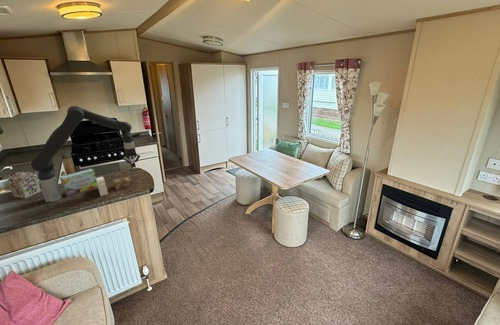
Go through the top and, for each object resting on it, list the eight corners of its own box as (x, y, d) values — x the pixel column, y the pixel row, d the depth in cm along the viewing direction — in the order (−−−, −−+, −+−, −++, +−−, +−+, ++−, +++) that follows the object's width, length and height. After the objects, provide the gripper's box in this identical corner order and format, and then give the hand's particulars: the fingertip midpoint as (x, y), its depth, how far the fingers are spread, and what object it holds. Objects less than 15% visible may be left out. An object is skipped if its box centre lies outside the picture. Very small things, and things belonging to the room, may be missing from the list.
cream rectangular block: (100, 196, 177) (97, 185, 173) (98, 188, 189) (96, 178, 185) (108, 194, 179) (105, 183, 176) (105, 186, 191) (103, 176, 188)
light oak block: (116, 190, 186) (114, 183, 184) (114, 186, 193) (113, 180, 191) (132, 186, 193) (131, 179, 191) (130, 182, 199) (129, 176, 197)
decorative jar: (25, 198, 173) (17, 176, 167) (13, 197, 175) (4, 175, 169) (42, 191, 184) (34, 170, 178) (30, 189, 186) (22, 168, 180)
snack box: (67, 197, 176) (61, 178, 170) (64, 194, 179) (59, 176, 173) (98, 186, 191) (93, 169, 186) (95, 184, 195) (90, 167, 189)
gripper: (121, 149, 180) (125, 170, 186) (139, 146, 187) (143, 166, 193) (119, 147, 186) (124, 167, 192) (137, 144, 193) (141, 164, 199)
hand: (133, 167), depth 193 cm, fingers closed
